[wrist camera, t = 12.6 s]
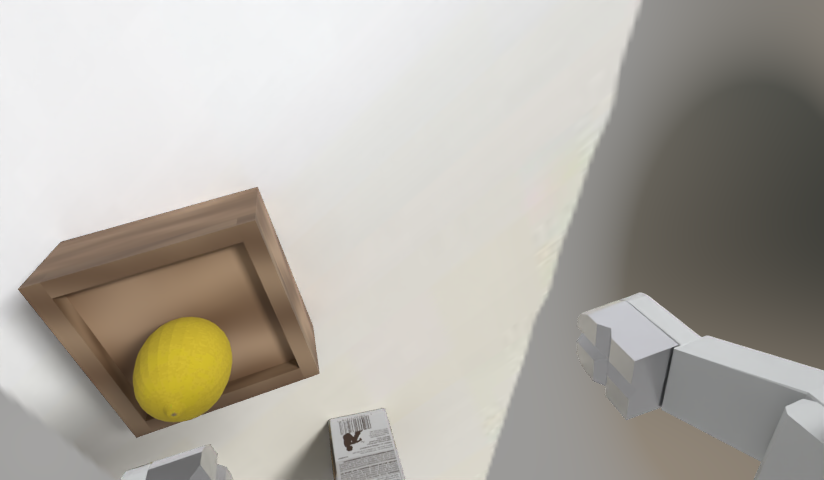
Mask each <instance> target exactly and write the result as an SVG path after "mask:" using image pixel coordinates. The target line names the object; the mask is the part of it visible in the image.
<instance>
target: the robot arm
mask: <svg viewBox="0 0 824 480" xmlns="http://www.w3.org/2000/svg"><path fill="white" fill-rule="evenodd" d="M577 327H578V328H579V329H580V330H581V331H582V334H581V336H580V337H579V339H578V340H577V354H578V357H579V360H580V363H581V365H582V367H583V369H584V370H585V372H586V373H587V374H588V376H589V377H590V378H591V379H592V380H593V381H594V382H597V383H599V384H602V385H604V386H605V394H606V397H607V398H608V399H609V401H610V402H611V403H612V404H613V405H614V407H615V408H616V409H617V410H618V411H619V412H620V414H621V415H622V416H623V417H624V418H625V419H626V420H628V419H630V418H633V417H636V416H638V415H641V414H644V413H647V412H650V411H652V410H655V409H658V408H660V407H662V408H661V409H662V410H663V411H665V412H667V413H669V414H671V415H673V416H675V417H677V418H679V419H680V420H682V421H684V422H686V423H688V424H690V425H692V426H694V427H696V428H698V429H700V430H702V431H703V432H705V433H707V434H709V435H711V436H713V437H715V438H717V439H719V440H720V441H723V442H724V443H726V444H728V445H730V446H732V447H734V448H736V449H738V450H740V451H742V452H743V453H745V454H747V455H749V456H751V457H753V458H755V459H757V460H759V461H761V464H760V466H759V469H758V471H757V473H756V475H755V478H754V480H824V371H823V370H820V369H817V368H813V367H810V366H806V365H803V364H800V363H797V362H794V361H790V360H787V359H784V358H780V357H777V356H774V355H770V354H767V353H764V352H760V351H757V350H754V349H751V348H747V347H744V346H741V345H737V344H734V343H731V342H727V341H724V340H721V339H717V338H714V337H711V336H704V337H700V336H699V335H698V334H696V333H695V332H694V331H693V330H691V329H690V328H689V327H687V326H686V325H685V324H684V323H682V322H681V321H680V320H678V319H677V318H676V317H675V316H673V315H672V314H671V313H670V312H668V311H667V310H666V309H664V308H663V307H662V306H661V305H659V304H658V303H657V302H656V301H654V300H653V299H652V298H651V297H649V296H648V295H646V294H643V293H638V294H635V295H632V296H629V297H626V298H623V299H621V300H617V301H614V302H611V303H609V304H606V305H603V306H600V307H598V308H595V309H592V310H589V311H587V312H584V313H581V314H580V316H579V317H578V324H577ZM217 457H218V453H217V452H216V451H215V450H214V448H213V447H212V446H211V444H209V445H204V446H201V447H198V448H195V449H192V450H189V451H186V452H183V453H179V454H176V455H173V456H170V457H167V458H164V459H161V460H158V461H155V462H152V463H149V464H146V465H143V466H140V467H137V468H134V469H131V470H128V471H126V472H125V473H124V475H123V476H122V477H121V479H120V480H233V478H232V475H231V473H230V471H229V470H228V468H227V467H225V466H222V465H219V464H217Z"/></svg>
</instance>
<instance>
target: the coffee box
mask: <svg viewBox="0 0 824 480" xmlns="http://www.w3.org/2000/svg"><path fill="white" fill-rule="evenodd" d="M328 427H329V437H330V447H331V457H332V466H333V475H334V480H405V476H404V473H403V469H402V466H401V462H400V459H399V455H398V452H397V448H396V444H395V441H394V437H393V434H392V430H391V427H390V423H389V420H388V417H387V413H386V410H385V408H382V409H377V410H373V411H368V412H363V413H358V414H353V415H348V416H343V417H339V418H334V419H330V420H329V421H328Z"/></svg>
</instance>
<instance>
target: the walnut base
mask: <svg viewBox="0 0 824 480" xmlns="http://www.w3.org/2000/svg"><path fill="white" fill-rule="evenodd" d="M18 290H19V291H20V292H21V294H22V295H23V296H24V297H25V299H26V300H27V301H28V302H29V304H30V305H31V306H32V307H33V309H34V310H35V311H36V312H37V314H38V315H39V316H40V317H41V319H42V320H43V321H44V322H45V324H46V325H47V326H48V327H49V329H50V330H51V331H52V332H53V334H54V335H55V336H56V337H57V339H58V340H59V341H60V342H61V344H62V345H63V346H64V348H65V349H66V350H67V351H68V353H69V354H70V355H71V356H72V358H73V359H74V360H75V361H76V363H77V364H78V365H79V366H80V368H81V369H82V370H83V371H84V373H85V374H86V375H87V376H88V378H89V379H90V380H91V381H92V383H93V384H94V385H95V386H96V388H97V389H98V390H99V391H100V393H101V394H102V395H103V396H104V398H105V399H106V400H107V401H108V403H109V404H110V405H111V406H112V408H113V409H114V410H115V411H116V413H117V414H118V415H119V416H120V418H121V419H122V420H123V422H124V423H125V424H126V425H127V427H128V428H129V429H130V430H131V432H132V433H133V434H134V435H135V437H136V438H137V437H140V436H143V435H146V434H148V433H151V432H154V431H157V430H160V429H163V428H166V427H168V426H171V425H174V424H177V423H180V422H166V421H162V420H158V419H156V418H154V417H152V416H150V415H149V414H147V413H146V412H145V411H144V410H143V409H142V408H141V406H140V405H139V403H138V401H137V399H136V397H135V393H134V386H133V372H134V367H135V362H136V358H137V355H138V353H139V351H140V349H141V348H142V346H143V344H144V343H145V341H146V340H147V338H148V337H149V336H150V335H151V334H152V333H153V332H154V331H155V330H157V329H158V328H159V327H160V326H162V325H164V324H165V323H167V322H169V321H171V320H174V319H178V318H181V317H199V318H203V319H206V320H209V321H211V322H213V323H214V324H216V325H217V326H218V327H219V328H220V329H221V330H222V331H224V333H225V335H226V336H227V338H228V340H229V342H230V346H231V351H232V367H231V373H230V377H229V380H228V383H227V385H226V387H225V389H224V391H223V393H222V395H221V396H220V398H219V399H218V401H217V402H216V403H215V404H214V405H213V406H212V407H211V408H210V409H209V410H208V411H206V412H205V413H203V414H206V413H208V412H211V411H214V410H217V409H220V408H223V407H226V406H228V405H231V404H234V403H237V402H240V401H243V400H246V399H249V398H251V397H254V396H257V395H260V394H263V393H266V392H269V391H271V390H274V389H277V388H280V387H283V386H286V385H289V384H291V383H294V382H297V381H300V380H303V379H306V378H309V377H311V376H314V375H317V374H319V367H318V359H317V352H316V345H315V337H314V330H313V325H312V322H311V320H310V317H309V315H308V312H307V310H306V307H305V305H304V302H303V300H302V297H301V295H300V292H299V290H298V287H297V285H296V282H295V280H294V277H293V275H292V272H291V270H290V267H289V265H288V262H287V260H286V257H285V255H284V252H283V250H282V247H281V245H280V242H279V240H278V237H277V235H276V232H275V229H274V227H273V224H272V222H271V219H270V217H269V214H268V212H267V209H266V207H265V204H264V202H263V199H262V197H261V194H260V192H259V189H258V187H256V188H252V189H249V190H245V191H241V192H238V193H234V194H231V195H227V196H224V197H220V198H216V199H213V200H209V201H206V202H202V203H198V204H195V205H191V206H188V207H184V208H181V209H177V210H173V211H170V212H166V213H163V214H159V215H156V216H152V217H148V218H145V219H141V220H138V221H134V222H131V223H127V224H123V225H120V226H116V227H113V228H109V229H106V230H102V231H98V232H95V233H91V234H88V235H84V236H80V237H77V238H73V239H70V240H66V241H63V242H60V243H59V244H58V245H57V247H56V248H55V249H54V250H53V251H52V252H51V253H50V254H49V255H48V257H47V258H46V259H45V260H44V261H43V262H42V263H41V264H40V265H39V266H38V268H37V269H36V270H35V271H34V272H33V273H32V274H31V275H30V276H29V278H28V279H27V280H26V281H25V282H24V283H23V284H22V285H21V286H20V287H19V289H18ZM203 414H202V415H203Z"/></svg>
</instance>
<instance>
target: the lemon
mask: <svg viewBox="0 0 824 480" xmlns="http://www.w3.org/2000/svg"><path fill="white" fill-rule="evenodd" d="M231 367H232V351H231V346H230V342H229V340H228V338H227V336H226V335H225V333H224V331H222V330H221V329H220V328H219V327H218V326H217V325H216V324H214V323H213V322H211V321H209V320H206V319H203V318H199V317H181V318H178V319H174V320H171V321H169V322H167V323H165V324H164V325H162V326H160V327H159V328H158V329H157V330H155V331H154V332H153V333H152V334H151V335H150V336H149V337H148V338H147V340H146V341H145V343H144V344H143V346H142V348H141V349H140V351H139V353H138V355H137V358H136V362H135V367H134V372H133V386H134V393H135V397H136V399H137V401H138V403H139V405H140V406H141V408H142V409H143V410H144V411H145V412H146V413H147V414H149V415H150V416H152V417H154V418H156V419H158V420H162V421H166V422H183V421H187V420H191V419H193V418H196V417H198V416H200V415H202V414H203V413H205V412H206V411H208V410H209V409H210V408H211V407H212V406H213V405H214V404H215V403H216V402H217V401H218V399H219V398H220V396H221V395H222V393H223V391H224V389H225V387H226V385H227V383H228V380H229V377H230V373H231Z"/></svg>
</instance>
